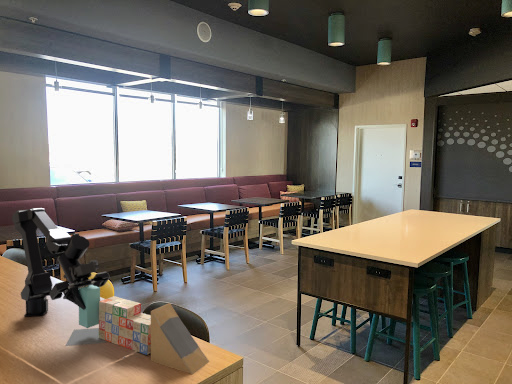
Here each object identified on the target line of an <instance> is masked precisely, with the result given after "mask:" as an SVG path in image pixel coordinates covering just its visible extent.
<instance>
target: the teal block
mask: <svg viewBox="0 0 512 384" xmlns="http://www.w3.org/2000/svg"><path fill="white" fill-rule="evenodd" d="M79 294H80V296H81V298H82V300H83V301H84V303H85V306H86V309H85V310H83V309H82V308H80V307H79V306H78V325H79V326H82V327H83V328H85V329H90V328H91V327H92V328H93V327H95V326H97V325H98V326H99V301H101V287H97V286H94V285H89V286H85V287H81V288H79Z"/></svg>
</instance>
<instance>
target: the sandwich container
mask: <svg viewBox="0 0 512 384" xmlns="http://www.w3.org/2000/svg"><path fill="white" fill-rule="evenodd" d="M150 315H151V353H150V361H151V362H154V363H156V364H160V365H162V366H165V367H168V368H172V369H175V370H178V371H181V372H184V373H188V374H191V375H194V374H196V373H197V372H198V371H200V370H201V369H202V368H203V367H205V366H206V365H208V363H210V360H209V359H208V358H207V355H205V353H204V352H203V350H202V349H201V348H200V346H199V345H198V343H197V341H196V340H195V339H194V337H193V336H192V334H191V333H190V331H189V330H188V328H187V327H186V325H185V324H184V323H183V321H182V320H181V317H180V316H179V315H178V313H177V312H176V310H175V309H174V307H173V305H172V304H171V302H169V303H166V304H164V305H162V306H159V307H156V308H155V309H153V310H150Z"/></svg>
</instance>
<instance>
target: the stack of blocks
mask: <svg viewBox="0 0 512 384" xmlns="http://www.w3.org/2000/svg"><path fill="white" fill-rule="evenodd" d="M141 306H142V303H140V302H137V301H133V300H129V299H126V298H121V297H119V296H115V295H113V296H111V297H108V298H105V299H102V300H100V301H99V324H98V328H99V338H101V339H104V340H106V341H107V342H109V343H112V344H115V345H117V346H120V347H121V346H122V347H124V348H127V349H130V350H132V351H135V352H138V353H140V354H143V355H146V356H148V355H151V314H147V313H145V312H144V313H143V312H141V311H142V307H141Z"/></svg>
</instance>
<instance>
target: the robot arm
mask: <svg viewBox="0 0 512 384" xmlns="http://www.w3.org/2000/svg"><path fill="white" fill-rule="evenodd" d="M11 220H12V223H13V225H14V229H15V230H16V231H17V232H18V233H20V234H21V239H22V245H23V250H24V255H25V260H26V266H27V271H28V273H27V275H26V277H25V280H24V287H23V288H22V290H21V292H20V297H21V300H23V301H25V313H24V315H23V316H24V317H25V318H26V317H41V316H42V317H43V316H44V315H45V314H46V313H47V312H48V311H49V299H48V298H47V297H49V296H50V297H49V298H50V300H51V301H54V300H58V299H59V300H60V299H61V298H62V299H63V300H67V301H68V302H71V303H73V304H74V305H76V306H77V307H78V308H79V307H80V308H82V309H83V310H85V309H86V306H85V303H84V301H83V300H82V298H81V296H80V294H79V288H82V287H85V286H89V285H94V286H97V287H100V288H102V287H103V286H105V285H106V284H107V283H108V281H109V280H110V278H111V276H110V273H109V272H108V271H102V272H97V270H99V269H100V262H98V259H92V260H90V261H89V262H87V263H81V262H80V259H81V258H82V257H83V256H84V254H85V253H86V251H88V248H89V247H90V241H89V240H88V239H87V238H86V237H84V236H82V235H80V234H79V233H72V235H70V234H69V233H67V231H63V230H60V229H59V228H58V226H57V225H56V224H55V223H54V221H53V220H52V219H51V218H50V217H49V215H48V214H47V211H46V209H45V208H42V207H36V208H33V207H32V208H30V209H23V210H16V211H15V212H14V213H13V214H12V217H11ZM38 230H39V231H40V232H41V234H42V235H43V236H44V237H45V239H46V244H45V246H46V247H47V250H48V251H49V252H50V253H51V254H52V255H55V254H59V256H57V260H56V262H55V264H56V265H60V267H61V269H62V271H63V273H64V275H63V279H64V280H65V279H67V280H65V281H62V282H56V283H55V284H54V285H53V282H52V278H51V274H50V272H47V271H46V270H45V269H44V267H43V266H44V265H43V261H42V256H41V250H40V247H39V246H40V245H39V241H38V235H37V231H38ZM96 272H97V273H96ZM93 273H96V274H95V275H94V277H93V278H91V277H92V274H93ZM62 296H63V297H62Z"/></svg>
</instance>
